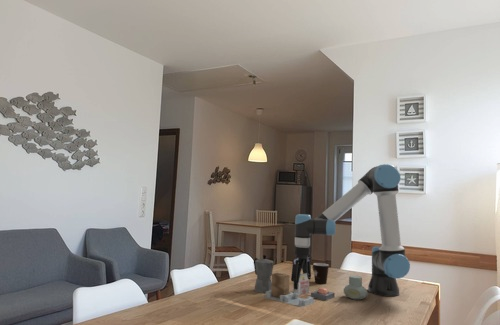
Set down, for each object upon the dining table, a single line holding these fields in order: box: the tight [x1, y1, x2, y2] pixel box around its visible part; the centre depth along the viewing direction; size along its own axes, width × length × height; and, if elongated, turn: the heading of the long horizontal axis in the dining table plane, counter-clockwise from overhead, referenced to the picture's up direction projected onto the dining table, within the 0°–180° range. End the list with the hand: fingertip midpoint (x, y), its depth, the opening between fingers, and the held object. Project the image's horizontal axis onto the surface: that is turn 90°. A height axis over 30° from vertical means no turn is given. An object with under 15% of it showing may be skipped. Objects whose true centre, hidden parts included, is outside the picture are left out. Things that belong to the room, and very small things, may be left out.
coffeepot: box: [253, 254, 275, 294], centre depth 179 cm, size 15×9×18 cm, turn 33°
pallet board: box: [263, 290, 317, 308], centre depth 164 cm, size 21×12×3 cm, turn 52°
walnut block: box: [271, 272, 290, 298], centre depth 167 cm, size 7×4×10 cm, turn 52°
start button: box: [318, 287, 328, 294], centre depth 170 cm, size 4×4×4 cm
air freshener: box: [343, 275, 368, 301], centre depth 175 cm, size 11×8×10 cm
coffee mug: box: [312, 262, 330, 285], centre depth 206 cm, size 12×9×10 cm
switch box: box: [310, 289, 336, 301], centre depth 170 cm, size 8×8×3 cm
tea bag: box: [292, 273, 310, 296], centre depth 176 cm, size 4×7×10 cm, turn 125°
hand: (300, 294), depth 176 cm, fingers closed on tea bag, 7 cm apart
